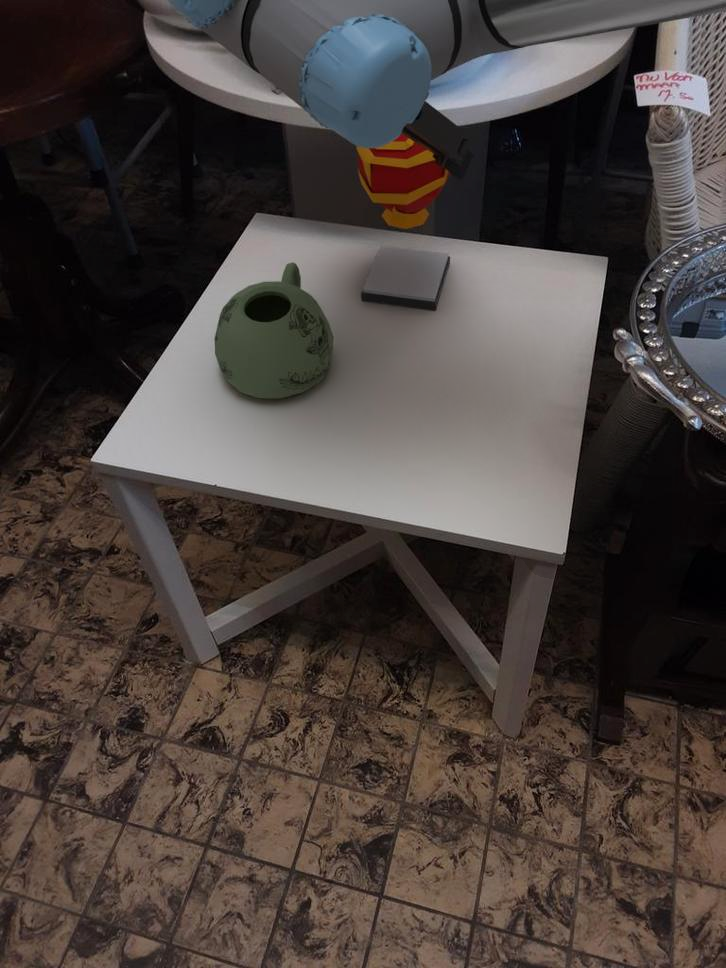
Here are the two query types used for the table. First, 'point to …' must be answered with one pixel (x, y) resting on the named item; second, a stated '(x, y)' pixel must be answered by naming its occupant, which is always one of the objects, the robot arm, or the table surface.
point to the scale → (406, 278)
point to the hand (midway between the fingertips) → (422, 151)
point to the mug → (273, 338)
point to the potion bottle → (401, 180)
